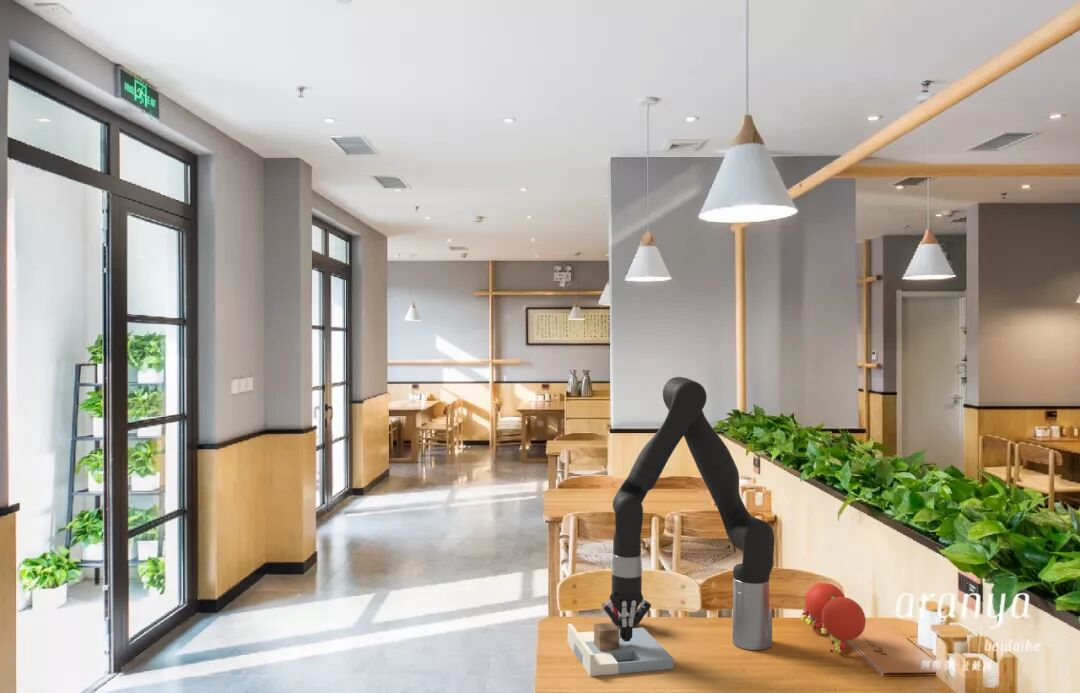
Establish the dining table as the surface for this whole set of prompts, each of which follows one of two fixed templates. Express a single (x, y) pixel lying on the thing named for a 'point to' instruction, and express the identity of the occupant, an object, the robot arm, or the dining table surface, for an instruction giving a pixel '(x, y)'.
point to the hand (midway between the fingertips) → (625, 640)
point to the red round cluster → (833, 614)
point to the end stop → (581, 644)
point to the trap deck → (625, 654)
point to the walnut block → (606, 636)
